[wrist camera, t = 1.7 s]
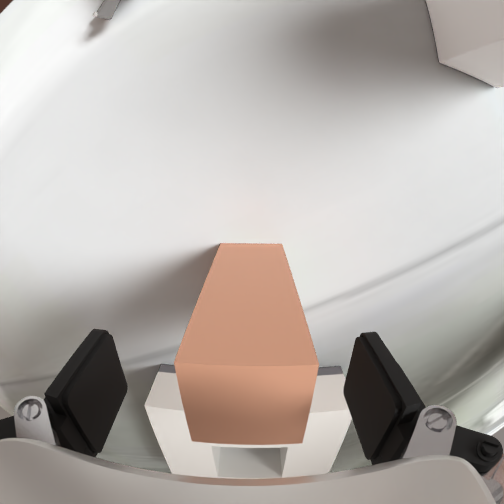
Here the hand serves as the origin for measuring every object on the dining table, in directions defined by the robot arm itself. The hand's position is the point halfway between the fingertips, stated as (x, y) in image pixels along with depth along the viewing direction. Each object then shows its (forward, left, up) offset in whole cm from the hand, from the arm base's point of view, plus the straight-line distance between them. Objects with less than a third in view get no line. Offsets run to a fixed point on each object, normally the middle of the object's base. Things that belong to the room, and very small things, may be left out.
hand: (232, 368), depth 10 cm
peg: (-1, 0, -10) cm, 10 cm away
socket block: (-1, +16, -10) cm, 19 cm away
